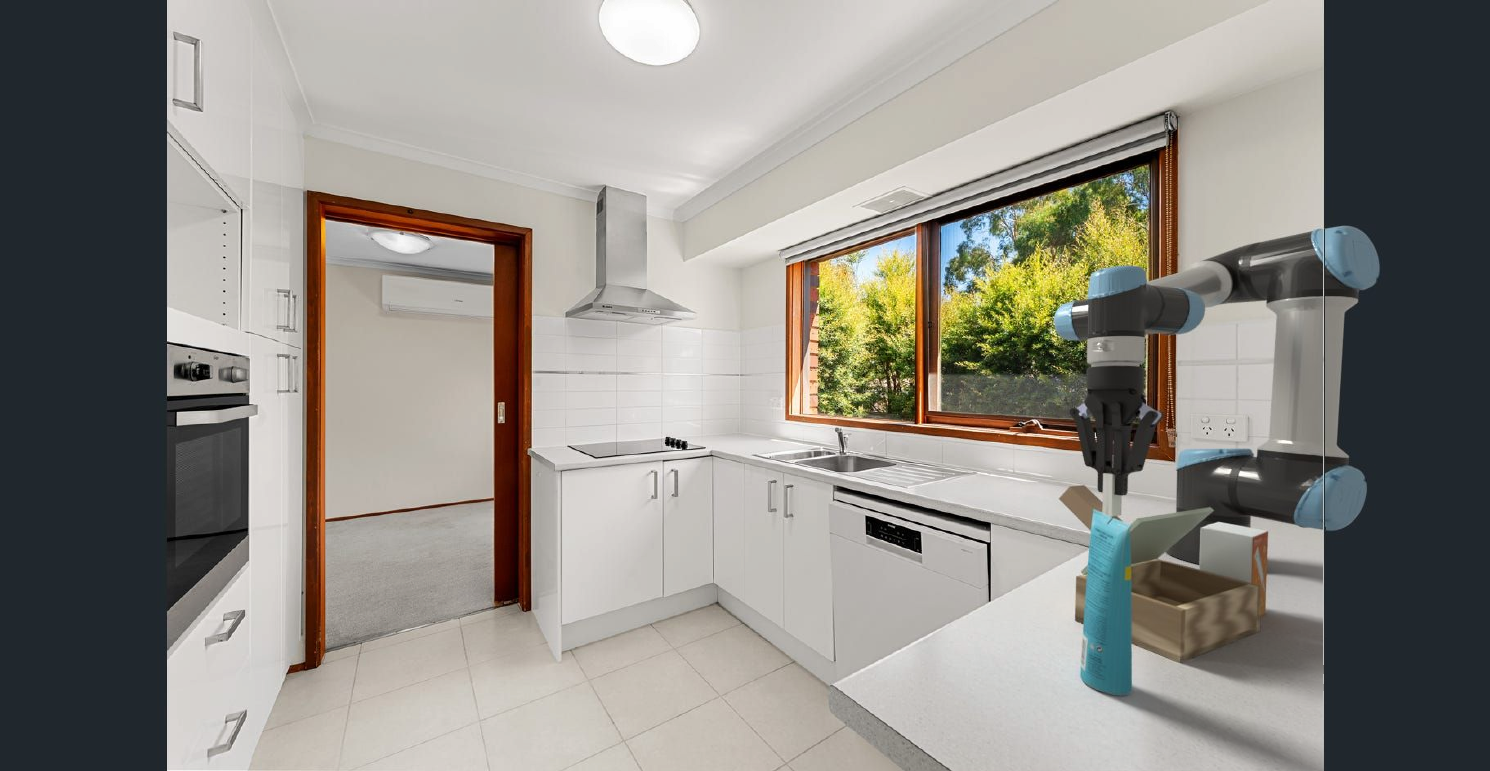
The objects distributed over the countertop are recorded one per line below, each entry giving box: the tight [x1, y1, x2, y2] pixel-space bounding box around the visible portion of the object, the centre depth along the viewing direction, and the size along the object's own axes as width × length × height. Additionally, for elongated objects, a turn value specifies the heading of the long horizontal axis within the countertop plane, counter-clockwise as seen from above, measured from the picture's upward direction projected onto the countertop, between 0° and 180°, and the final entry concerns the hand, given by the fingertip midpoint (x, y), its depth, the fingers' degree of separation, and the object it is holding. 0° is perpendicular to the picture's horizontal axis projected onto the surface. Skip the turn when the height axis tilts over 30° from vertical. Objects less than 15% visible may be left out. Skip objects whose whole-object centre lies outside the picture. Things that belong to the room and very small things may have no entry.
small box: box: [1198, 522, 1269, 617], centre depth 83 cm, size 8×6×13 cm
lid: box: [1058, 484, 1214, 575], centre depth 83 cm, size 20×12×13 cm
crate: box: [1074, 558, 1261, 664], centre depth 77 cm, size 22×13×6 cm, turn 117°
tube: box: [1079, 509, 1133, 696], centre depth 61 cm, size 7×5×19 cm, turn 178°
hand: (1111, 514), depth 84 cm, fingers closed
